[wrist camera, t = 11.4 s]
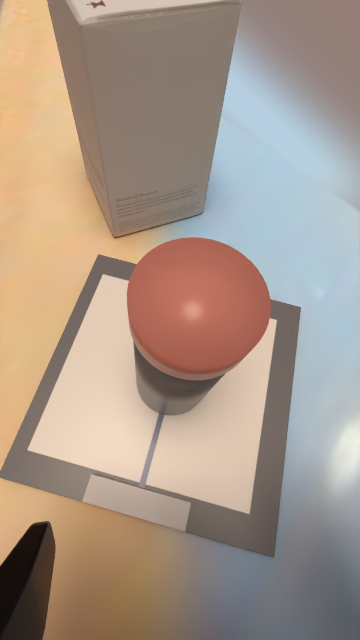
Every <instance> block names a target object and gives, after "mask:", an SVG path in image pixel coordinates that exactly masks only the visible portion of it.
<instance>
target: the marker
mask: <svg viewBox="0 0 360 640" xmlns="http://www.w3.org/2000/svg"><path fill="white" fill-rule="evenodd" d="M127 309H128V319H129V327H130V332H131V336H132V339H133V343H134V357H135V371H136V384H137V389H138V392H139V395H140V397H141V398H142V400H143V401H144V403H145V404H146V405H147V406H148V407H149V408H151V409H152V410H154V411H156V412H158V413H160V414H164V415H180V414H183V413H186V412H188V411H190V410H191V409H193V408H194V407H195V406H196V405H197V404H198V403H199V402H200V401H201V400H202V399H203V398H204V396H205V395H206V394H207V393H208V392H209V391H210V390H211V389H212V388H213V387H214V386H215V384H216V383H217V382H218V381H219V380H220V379H221V378H222V377H223V376H224V375H225V374H226V373H227V372H229V371H230V370H231V369H233V368H234V367H236V366H237V365H238V364H239V363H240V362H241V361H242V360H243V359H244V358H245V357H246V356H247V355H248V354H249V353H250V351H251V350H252V349H253V348H254V347H255V346H256V345H257V344H258V343H259V341H260V340H261V339H262V337H263V335H264V333H265V331H266V329H267V326H268V324H269V319H270V312H271V302H270V296H269V291H268V288H267V285H266V283H265V281H264V279H263V277H262V275H261V274H260V272H259V271H258V269H257V268H256V267H255V266H254V264H253V263H252V262H251V261H250V260H249V259H248V258H247V257H245V256H244V255H243V254H241V253H240V252H239V251H237V250H235V249H234V248H232V247H230V246H228V245H226V244H224V243H221V242H218V241H215V240H210V239H205V238H181V239H176V240H172V241H169V242H166V243H164V244H161V245H159V246H157V247H156V248H154V249H153V250H151V251H150V252H149V253H147V254H146V255H145V256H144V257H143V258H142V259H141V260H140V261H139V262H138V264H137V265H136V267H135V268H134V270H133V272H132V274H131V277H130V280H129V283H128V288H127Z"/></svg>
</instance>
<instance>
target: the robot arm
mask: <svg viewBox="0 0 360 640" xmlns="http://www.w3.org/2000/svg"><path fill="white" fill-rule="evenodd" d="M54 558H55V540H54V536H53V531H52V527H51V524H50V522H49V521H45V522H37V523H34V524H32V525H31V526H30V527H29V529H28V530H27V531H26V533H25V534H24V535H23V537H22V538H21V539H20V541H19V542H18V543H17V544H16V546H15V547H14V548H13V550H12V551H11V552H10V554H9V555H8V556H7V558H6V559H5V560H4V562H3V563H2V564H1V566H0V640H42V639H43V634H44V630H45V624H46V617H47V610H48V603H49V595H50V588H51V580H52V573H53V565H54Z"/></svg>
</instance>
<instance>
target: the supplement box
mask: <svg viewBox="0 0 360 640" xmlns="http://www.w3.org/2000/svg"><path fill="white" fill-rule="evenodd" d="M47 2H48V7H49V11H50V16H51V20H52V24H53V29H54V33H55V37H56V42H57V46H58V50H59V55H60V59H61V63H62V68H63V72H64V76H65V81H66V85H67V90H68V94H69V98H70V103H71V107H72V111H73V116H74V120H75V124H76V129H77V133H78V137H79V142H80V147H81V152H82V156H83V161H84V165H85V170H86V173H87V176H88V178H89V181H90V183H91V186H92V188H93V191H94V193H95V195H96V198H97V200H98V202H99V205H100V207H101V209H102V212H103V214H104V216H105V219H106V221H107V223H108V226H109V228H110V230H111V232H112V235H113V237H119V236H123V235H126V234H130V233H134V232H137V231H141V230H144V229H149V228H152V227H155V226H159V225H163V224H167V223H170V222H173V221H177V220H181V219H184V218H188V217H191V216H195V215H198V214H200V213H202V212H203V209H204V203H205V198H206V193H207V188H208V182H209V177H210V171H211V166H212V160H213V155H214V150H215V144H216V139H217V133H218V128H219V122H220V117H221V111H222V106H223V101H224V95H225V89H226V85H227V79H228V73H229V68H230V63H231V57H232V52H233V47H234V42H235V36H236V31H237V25H238V20H239V15H240V10H241V5H242V0H47Z"/></svg>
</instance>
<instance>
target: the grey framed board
mask: <svg viewBox="0 0 360 640" xmlns="http://www.w3.org/2000/svg"><path fill="white" fill-rule="evenodd" d="M136 265H137V264H133V263H129V262H126V261H122V260H118V259H114V258H110V257H106V256H103V255H99V254H98V256H97V259H96V261H95V263H94V265H93V267H92V270H91V272H90V274H89V276H88V278H87V281H86V283H85V285H84V287H83V290H82V292H81V294H80V296H79V298H78V301H77V303H76V305H75V307H74V309H73V312H72V314H71V316H70V318H69V321H68V323H67V325H66V327H65V329H64V332H63V334H62V336H61V338H60V340H59V343H58V345H57V347H56V349H55V352H54V354H53V356H52V358H51V360H50V363H49V365H48V367H47V369H46V371H45V374H44V376H43V378H42V380H41V382H40V385H39V387H38V389H37V391H36V394H35V396H34V398H33V400H32V402H31V405H30V407H29V409H28V411H27V413H26V416H25V418H24V420H23V422H22V425H21V427H20V429H19V431H18V433H17V436H16V438H15V440H14V442H13V444H12V447H11V449H10V451H9V453H8V456H7V458H6V460H5V462H4V464H3V467H2V469H1V471H0V478H3V479H7V480H10V481H13V482H17V483H20V484H24V485H27V486H31V487H34V488H37V489H41V490H44V491H48V492H51V493H54V494H58V495H61V496H65V497H68V498H72V499H75V500H78V501H82V502H85V503H89V504H92V505H95V506H99V507H102V508H106V509H109V510H112V511H116V512H119V513H123V514H126V515H130V516H133V517H136V518H140V519H143V520H147V521H150V522H153V523H157V524H160V525H164V526H167V527H171V528H174V529H177V530H181V531H184V532H188V533H191V534H195V535H198V536H201V537H205V538H208V539H212V540H215V541H218V542H222V543H225V544H229V545H232V546H236V547H239V548H242V549H246V550H249V551H253V552H256V553H259V554H263V555H266V556H270V557H273V558H274V551H275V542H276V533H277V524H278V514H279V505H280V496H281V487H282V477H283V468H284V459H285V449H286V440H287V431H288V422H289V412H290V403H291V394H292V385H293V375H294V366H295V357H296V348H297V338H298V329H299V320H300V311H301V307H298V306H294V305H290V304H286V303H282V302H278V301H275V300H271V299H270V302H271V312H270V319H269V324H268V326H267V329H266V331H265V333H264V335H263V337H262V339H261V340H260V341H259V343H258V344H257V345H256V346H255V347H254V348H253V349H252V350H251V351H250V353H249V354H248V355H247V356H246V357H245V358H244V359H243V360H242V361H241V362H240V363H239V364H238V365H237V366H236V367H234V368H233V369H231V370H230V371H229V372H227V373H226V374H225V375H224V376H223V377H222V378H221V379H220V380H219V381H218V382H217V383H216V384H215V386H214V387H213V388H212V389H211V390H210V391H209V392H208V393H207V394H206V395H205V396H204V398H203V399H202V400H201V401H200V402H199V403H198V404H197V405H196V406H195V407H194V408H193V409H191V410H190V411H188V412H186V413H183V414H180V415H164V414H160V413H158V412H156V411H154V410H152V409H151V408H149V407H148V406H147V405H146V404H145V403H144V401H143V400H142V398H141V397H140V395H139V392H138V389H137V384H136V371H135V357H134V343H133V339H132V336H131V332H130V327H129V319H128V309H127V288H128V283H129V280H130V277H131V274H132V272H133V270H134V268H135V267H136Z"/></svg>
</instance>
